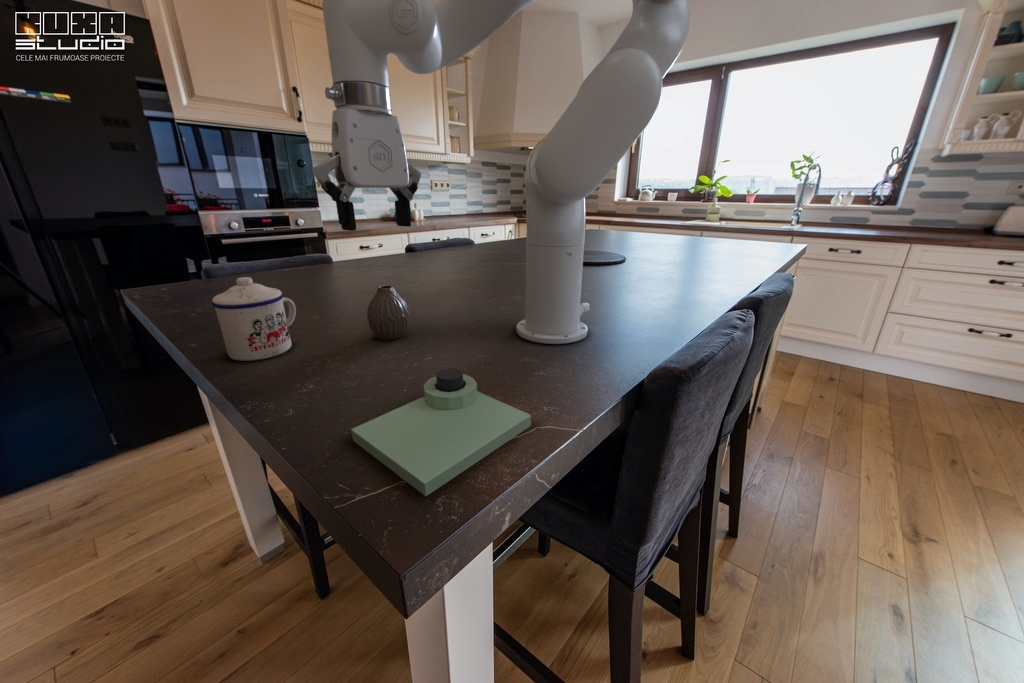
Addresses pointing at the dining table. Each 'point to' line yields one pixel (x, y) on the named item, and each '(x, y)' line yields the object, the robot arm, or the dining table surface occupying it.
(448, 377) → the button
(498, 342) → the dining table surface
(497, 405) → the scale
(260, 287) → the teacup with lid
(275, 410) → the dining table surface
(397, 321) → the vase
